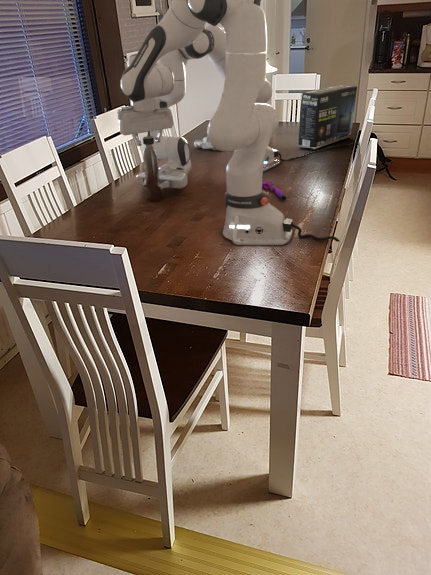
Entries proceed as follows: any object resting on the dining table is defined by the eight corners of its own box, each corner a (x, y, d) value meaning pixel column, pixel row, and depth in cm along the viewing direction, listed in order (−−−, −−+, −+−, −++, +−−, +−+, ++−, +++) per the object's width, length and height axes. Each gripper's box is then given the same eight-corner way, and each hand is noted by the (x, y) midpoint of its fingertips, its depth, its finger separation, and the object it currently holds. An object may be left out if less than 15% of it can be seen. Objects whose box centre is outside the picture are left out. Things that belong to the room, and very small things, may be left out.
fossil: (217, 145, 233) (197, 126, 236) (207, 162, 240) (188, 144, 243) (235, 143, 247) (216, 125, 250) (225, 159, 253) (207, 142, 257)
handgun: (253, 185, 189) (253, 181, 188) (271, 183, 190) (271, 179, 189) (267, 202, 172) (267, 197, 171) (287, 200, 173) (287, 195, 172)
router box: (314, 151, 231) (318, 94, 217) (296, 148, 237) (299, 92, 224) (352, 138, 251) (358, 85, 238) (335, 135, 258) (340, 83, 245)
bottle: (155, 202, 177) (149, 141, 165) (145, 200, 180) (137, 139, 168) (164, 198, 181) (158, 138, 169) (153, 195, 183) (147, 136, 171)
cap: (152, 141, 171) (151, 135, 170) (155, 143, 168) (154, 137, 167) (142, 143, 170) (141, 137, 169) (145, 145, 167) (144, 139, 166)
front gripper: (119, 109, 155) (125, 150, 162) (173, 101, 164) (176, 141, 171) (113, 106, 160) (118, 146, 167) (165, 99, 169) (169, 138, 176)
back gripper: (144, 166, 189) (127, 176, 178) (190, 169, 183) (175, 180, 172) (146, 180, 193) (129, 191, 182) (191, 185, 186) (176, 196, 175)
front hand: (148, 144), depth 169 cm, fingers open, 6 cm apart
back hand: (152, 186), depth 177 cm, fingers closed on bottle, 5 cm apart
